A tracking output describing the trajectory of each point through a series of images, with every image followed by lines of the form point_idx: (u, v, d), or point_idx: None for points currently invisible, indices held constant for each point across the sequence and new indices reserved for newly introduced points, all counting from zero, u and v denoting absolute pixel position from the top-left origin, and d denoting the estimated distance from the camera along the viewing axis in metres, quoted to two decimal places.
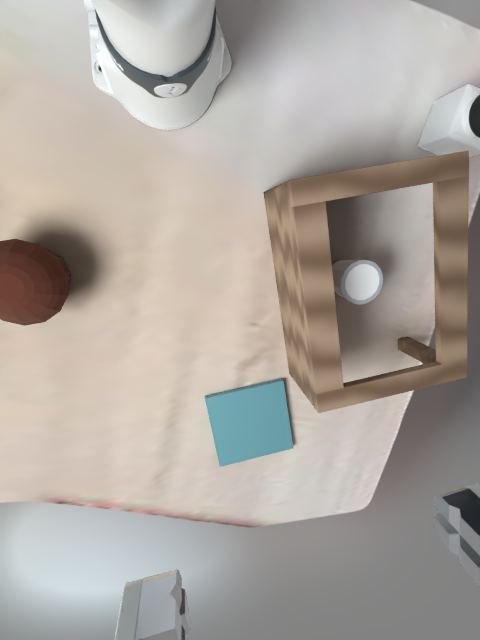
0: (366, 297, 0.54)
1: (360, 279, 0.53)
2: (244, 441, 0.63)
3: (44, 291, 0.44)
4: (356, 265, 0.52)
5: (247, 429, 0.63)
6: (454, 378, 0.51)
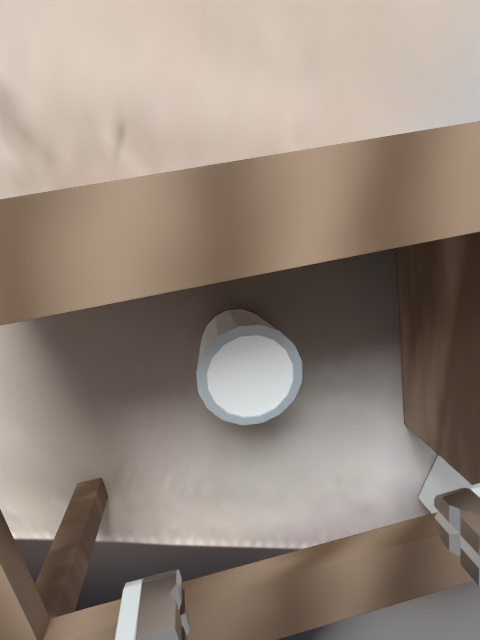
0: (213, 392, 0.22)
1: (257, 371, 0.22)
2: None
3: None
4: (291, 357, 0.22)
5: None
6: None
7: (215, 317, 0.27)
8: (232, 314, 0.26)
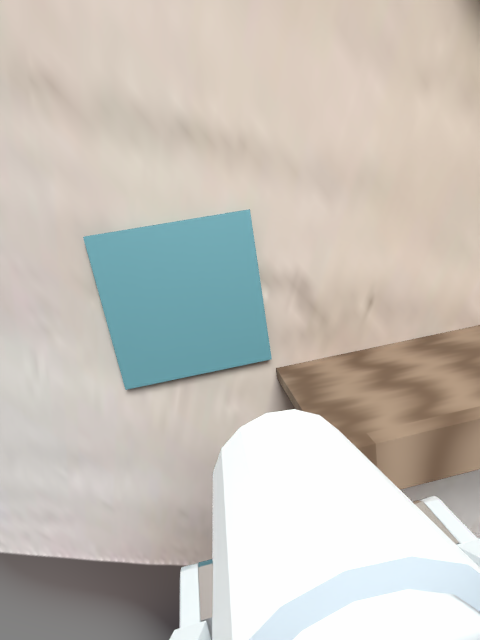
0: None
1: None
2: (145, 290, 0.30)
3: None
4: None
5: (174, 295, 0.31)
6: None
7: (242, 434, 0.13)
8: (286, 444, 0.11)
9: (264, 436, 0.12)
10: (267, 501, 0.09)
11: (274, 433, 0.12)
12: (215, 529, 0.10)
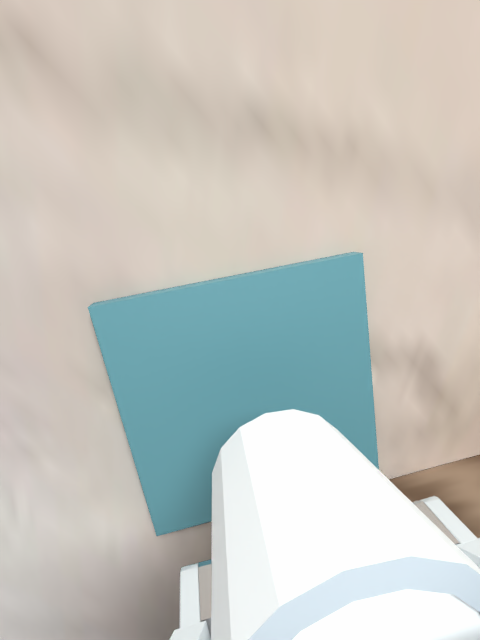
0: None
1: None
2: (191, 387, 0.19)
3: None
4: None
5: (237, 392, 0.19)
6: None
7: (241, 434, 0.13)
8: (285, 444, 0.11)
9: (263, 436, 0.12)
10: (266, 501, 0.09)
11: (273, 433, 0.12)
12: (214, 529, 0.10)
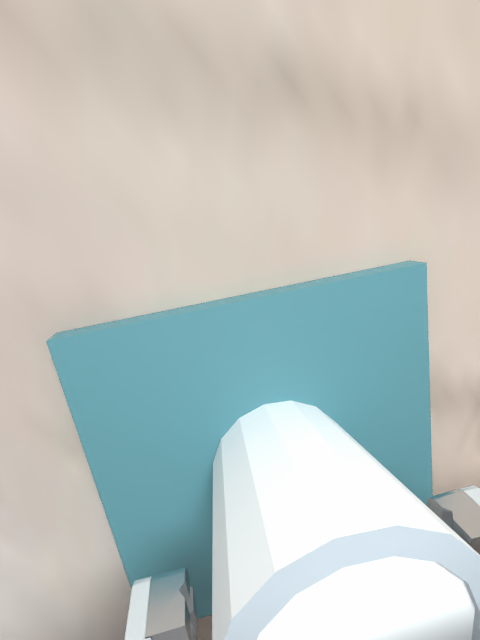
0: None
1: (384, 639, 0.08)
2: (193, 445, 0.14)
3: None
4: (477, 595, 0.08)
5: None
6: None
7: (240, 424, 0.13)
8: (282, 431, 0.11)
9: (262, 425, 0.12)
10: (264, 482, 0.09)
11: (271, 422, 0.12)
12: (215, 513, 0.11)
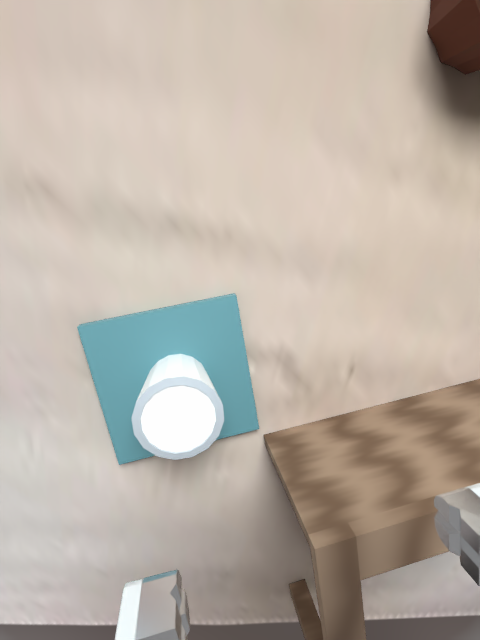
0: (148, 434, 0.26)
1: (185, 414, 0.26)
2: (138, 372, 0.32)
3: None
4: (212, 401, 0.26)
5: None
6: None
7: (157, 362, 0.31)
8: (169, 361, 0.30)
9: (164, 361, 0.31)
10: (155, 374, 0.28)
11: (167, 359, 0.30)
12: None
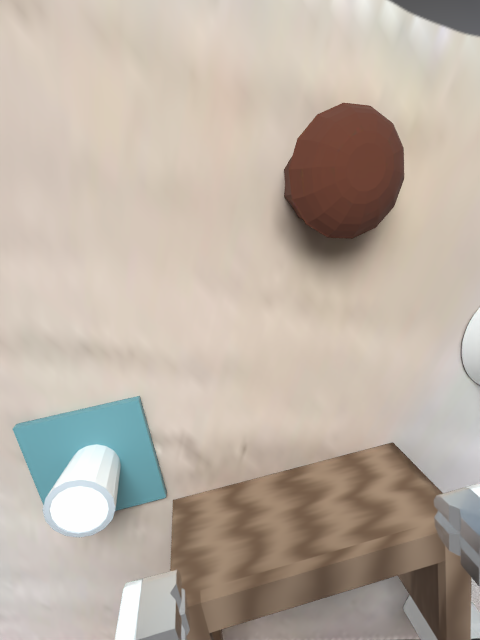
0: (56, 520, 0.35)
1: (84, 505, 0.35)
2: (63, 459, 0.41)
3: (350, 215, 0.31)
4: (104, 496, 0.35)
5: None
6: None
7: None
8: (82, 456, 0.39)
9: (80, 453, 0.39)
10: (66, 471, 0.37)
11: (82, 453, 0.39)
12: None
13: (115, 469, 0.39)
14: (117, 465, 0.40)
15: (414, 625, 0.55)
